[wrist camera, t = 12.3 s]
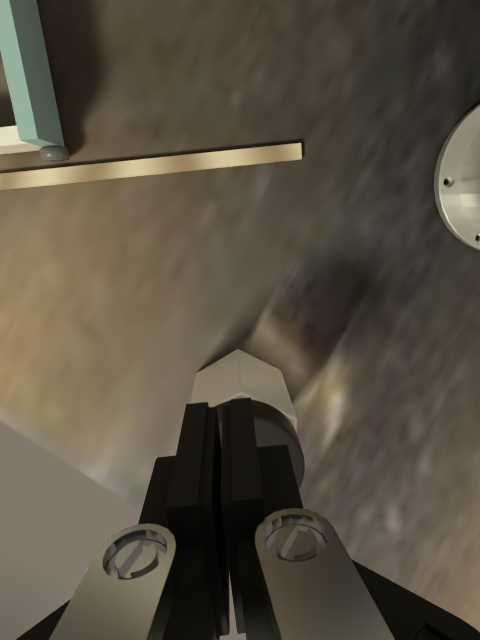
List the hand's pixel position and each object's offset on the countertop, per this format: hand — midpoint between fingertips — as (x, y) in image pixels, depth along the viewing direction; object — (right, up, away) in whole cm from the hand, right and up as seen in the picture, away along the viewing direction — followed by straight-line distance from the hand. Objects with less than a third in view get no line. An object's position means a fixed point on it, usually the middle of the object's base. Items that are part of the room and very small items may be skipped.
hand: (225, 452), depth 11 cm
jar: (0, -3, +29) cm, 29 cm away
